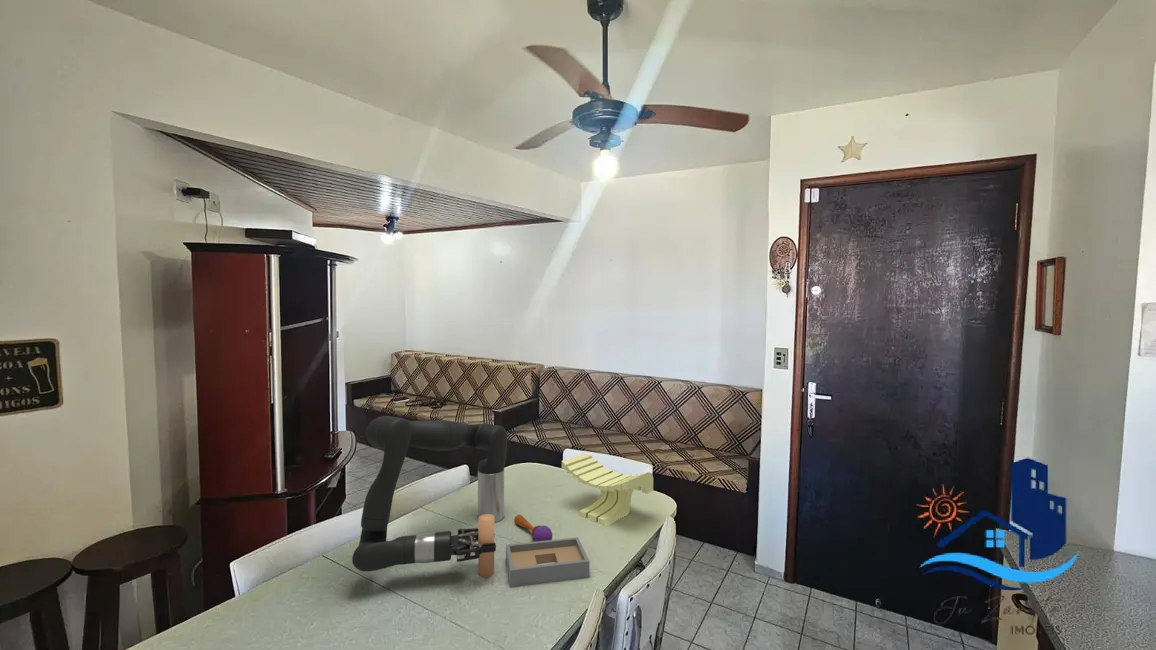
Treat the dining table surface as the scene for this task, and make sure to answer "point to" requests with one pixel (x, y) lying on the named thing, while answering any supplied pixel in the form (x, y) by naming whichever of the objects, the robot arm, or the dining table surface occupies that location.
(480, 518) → the peg
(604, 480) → the slatted curved stool
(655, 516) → the dining table surface
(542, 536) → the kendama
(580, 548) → the peg box
